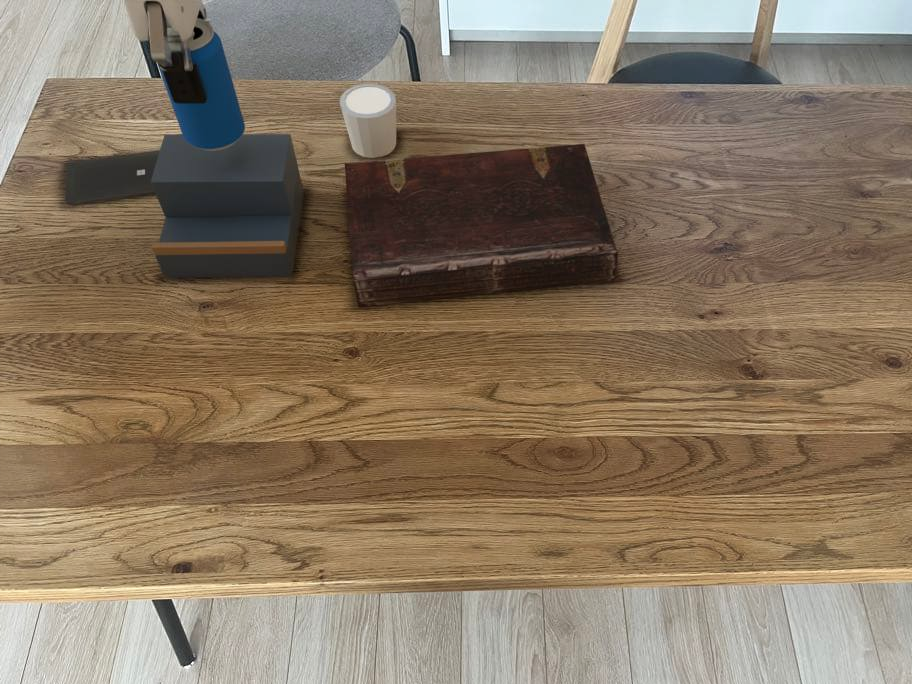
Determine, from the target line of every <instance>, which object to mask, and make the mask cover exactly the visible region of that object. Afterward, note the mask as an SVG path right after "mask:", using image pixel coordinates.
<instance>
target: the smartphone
mask: <svg viewBox="0 0 912 684" xmlns="http://www.w3.org/2000/svg"><path fill="white" fill-rule="evenodd" d="M159 152H160V150H154V151H147V152H146V151H145V152H138V153H130V154H122V155H116V156H115V155H113V156H107V157H99V158H93V159H86V160H84V159H83V160H77V161H72V162H70V163H68V164H67V166H66V170H65V171H66V174H65V193H64V201H65V203H66V204H67V205H68V206H78V205H84V204H85V205H86V204H93V203H100V202H106V201H115V200H121V199H122V200H123V199H128V198H129V199H130V198H135V197H141V196H142V197H143V196H150V195H156V193H155V191H154V189H153V186H152V184H151V180H152V176H153V173H154V170H155V166H156V163H157V159H158V156H159Z"/></svg>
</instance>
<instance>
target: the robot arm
mask: <svg viewBox="0 0 912 684" xmlns="http://www.w3.org/2000/svg"><path fill="white" fill-rule="evenodd" d="M123 3H124V6H125V9H126V13H127V17H128V19H129V23H130V25H131V28H132V31H133V33H134V37H135V38H136V39H137V40H138V41H140V42H141V43H144V42H148V41H149V48H150V49H149V51H150V57H151V60H152V61H154V62H155V63H156V64H157V63H158V65H159V66H160V69H161V71H163V74H164V76H165V79H166V82H167V85H168V88H169V90H170V93H171V96H172V99H173V101H174V102H175V103H178V104H204V103H206V100H207V95H206V92H205V89H204V86H203V83H202V80H201V76H200V73H199V70H198V67H197V64H192V59H191V53H190V47H189V42H188V39H189V37H190V36H191V35H192V32H193V31H194V36H193V37H194V38H193V40H195V39H197V38H199V37H200V33H199V30H198V28H197V27H194V26H195V23H196V20H197V18H200V19H203V20H205V21H207V22H208V23H210V21H209V20H207V19H208V13H207V8H206V6H205V4H204V3H203V0H123ZM167 28H172V29H173V30H174V31H175V32H179V34H167ZM168 42H172V43H179V44H180V50H181V55H182V56H181V55H179V54H178V53H172V52H171V50H170V49H169V45H168ZM158 65H157V66H158Z"/></svg>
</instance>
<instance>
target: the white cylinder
mask: <svg viewBox="0 0 912 684" xmlns="http://www.w3.org/2000/svg"><path fill="white" fill-rule="evenodd" d="M339 106H340V109H341V112H342V116H343V119H344V123H345V126H346V130H347V134H348V137H349V141H350V145H351V148H352V150H353V151H354V152H355V153H356V154H357V155H359V156H361V157H363V158H369V159H370V158H371V159H376V158H382V157H385V156H387V155H389V154H390V153H392V152H393V151H394V150H395V148H396V145H397V98H396V95H395V93H394V92H393V91H392V90H391V89H390V88H389V87H386V86H383V85H381V84H378V83H377V84H376V83H362V84H356V85H355V86H352V87H350V88H347V90H345V91H344V92H343V93H342V94H341V96H340V98H339Z"/></svg>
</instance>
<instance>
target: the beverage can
mask: <svg viewBox="0 0 912 684" xmlns="http://www.w3.org/2000/svg"><path fill="white" fill-rule="evenodd" d="M207 21H208V20H203V19H200V18H197V20H196V23H195V26H194V27H197V28H198V30H199V33H200V37H199V38H197V39H195V40H193V38H194V37H193V36H194V31H193V32H192V35H191V36H190V37H189V39H188V42H189V47H190V53H191V59H192V64H197V67H198V70H199V73H200V76H201V80H202V83H203V86H204V89H205V92H206V95H207V100H206V103H204V104H178V103H175V102H174V101H173V99H172V96H171V93H170V90H169V88H168V85H167V82H166V79H165V76H164V74H163V71H161V69H160V66H159V65H158V63H156V64H157V67H158V70H159V72H160V75H161V78H162V81H163V84H164V87H165V90H166V93H167V95H168V98H169V100H170V101H169V102H170V104H171V106H172V109H173V112H174V115H175V117H176V120H177V123H178V126H179V129H180V132H181V135H183V137H184V139H185V141H186V142H187V143H188V144H190V145H191V146H194V147H196V148H200V149H203V150H209V151H216V150H222V149H225V148H227V147H229V146H231V145H233V144H234V143H235V142H236V141H237V140H239V139H240V138H241V136H242V135H243V134H245V129H246V123H245V121H244V118H243V117H244V116H243V113H242V109H241V106H240V103H239V100H238V97H237V92H236V89H235V86H234V85H235V84H234V81H233V78H232V74H231V71H230V67H229V64H228V61H227V56H226V53H225V50H224V46H223V43H222V40H221V37H220V36H219V34H218V33H217V32H216V31H215V30H214V27H213V25H212V24H211V23H210V22H209V23H208V22H207ZM167 34H179V32H175V31H174V30H173V29H172V28H167ZM168 45H169V49H170V50H171V52H172V53H178V54H179V55H181V50H180V44H179V43H172V42H168ZM181 56H182V55H181Z"/></svg>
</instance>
